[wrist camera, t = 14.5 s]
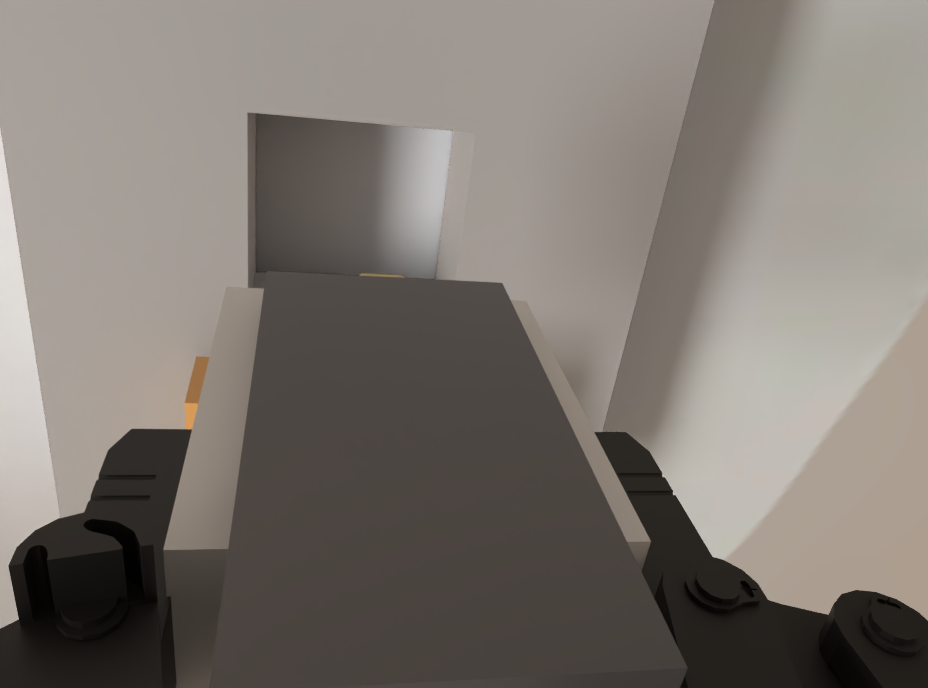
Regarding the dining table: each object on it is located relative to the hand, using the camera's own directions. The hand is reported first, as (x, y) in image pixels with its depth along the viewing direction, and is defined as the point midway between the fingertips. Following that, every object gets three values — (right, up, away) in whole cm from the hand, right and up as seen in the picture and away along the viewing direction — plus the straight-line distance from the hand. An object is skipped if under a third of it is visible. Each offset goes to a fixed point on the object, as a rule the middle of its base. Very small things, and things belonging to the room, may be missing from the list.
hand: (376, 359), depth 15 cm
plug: (0, 0, 0) cm, 0 cm away
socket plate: (-2, +5, +8) cm, 9 cm away
